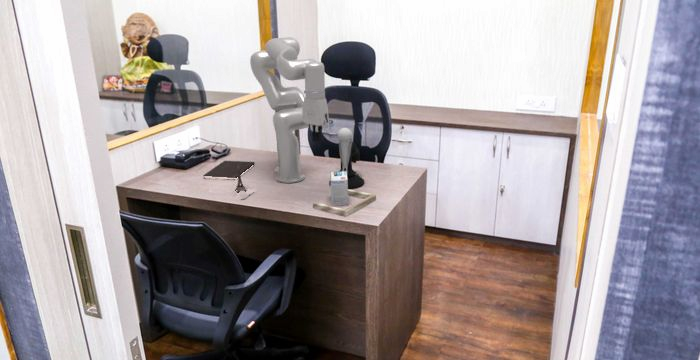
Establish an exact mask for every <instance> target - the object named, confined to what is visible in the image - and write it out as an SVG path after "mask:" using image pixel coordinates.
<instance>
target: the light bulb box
mask: <svg viewBox="0 0 700 360" xmlns="http://www.w3.org/2000/svg"><path fill="white" fill-rule="evenodd" d="M329 176H330V177H329V179H330V180H329V181H330V184H331V186H330V199H331V200H330V203H331V204H330V205H331V206H333V207H337V206H340V207H342V206H349V195H348V179H347V172H346V171H342V172H339V171H330V173H329Z"/></svg>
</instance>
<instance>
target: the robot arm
mask: <svg viewBox="0 0 700 360" xmlns="http://www.w3.org/2000/svg"><path fill="white" fill-rule="evenodd" d="M300 49H301V47H300V43H299V42H298V39H296V38H294V37H286V36H285V37H274V38H271V39H270V40H268V41H267V42H266V43H265V46H264V50H263V49H262V50H259V51H255V52H253V53H252V55H251V56H250V60H249V61H250V68H251V71H252V74H253V76H254V77H255V79H256V80H257V81H258V83H259V84H260V86H261V89H262V91H263V93H264V95H265V97H266V101H267V102H268V104H269V106H270V108H271V110H273V111H276V112H275V113H274V114H273V116H272V123H273V127H274V132H275V136H276V137H275V138H276V146H277V158H278V166H276V167H275V169H274V170H273V172H274V173H277V176H276V177H275V178H276V179H275V180H276V181H277V182H279V183H281V182H282V184H283V183H284V184H295V183H299V182H301V181H303V180H304V179H305V174H303V173H302V172H301V171H302V170H301V158H300V157H301V156H300V142H299V138H298V137H297V135H296V134H295V133H294V131H297V130H299V131H300V130H303V129H308V128H310V131H311V132H312V133H311V134H312V142H314V143H317V142H321V140H322V139H321V138H322V131H323V129H327V128H328V127H329V126H328V123H329V122H330V121H329V119H330V118H329V107H328V101H327V98H326V86H325V85H326V83H325V82H326V80H325V79H326V77H325V76H326V75H325V65H324V63H323V62H321V61H317V60H315V58H303V59H302V58H301V59H298V56H299V55H300V52H301V50H300ZM271 70H277V72H278V74H279V75H280V76H281V77H283V79H285V80H288V81H300V80H304V88H305V89H304V90H303V91H302V90H301V89H300V88H299V87H297V86H287V87H284V86H283V85H282V82H281V80H280V79H279V77H278V76H277V75H276V74H275V73H273V72H271Z"/></svg>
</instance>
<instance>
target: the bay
mask: <svg viewBox="0 0 700 360" xmlns="http://www.w3.org/2000/svg"><path fill="white" fill-rule="evenodd" d="M348 196H351V197H355V198H359V199H362V200H360V201H357V203H355V204H353V205H351V206H349V207H347V208H345V209H344V208H340V207H337V206H332V205H328V204H325V203H321V202H317V201H314V202H313V203H312V208H313V209H315V210H318V211H323V212H327V213H330V214H334V215H339V216H340V217H341V216H343V217H345V218H347V217H348V216H350V215H352V214H354V213H355V212H357V211H359V210H361V209H362V208H364V207H366V206H369V204H371V203H373V202H375V201H376V200H377V194H373V193H369V192H363V191H358V190H356V189H348Z"/></svg>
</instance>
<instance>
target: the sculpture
mask: <svg viewBox="0 0 700 360" xmlns="http://www.w3.org/2000/svg"><path fill="white" fill-rule="evenodd" d="M337 137H338V138H337V139H338V141H339V142H338V148H339V149H338V151H339V153H338V154H339V157H340V158H339V159H340V170H338V172H342V171H346V172H347V179H348V189H350V190H357V189H359V188H362V187H363V186H364V185H365V180H364V178H362V177H361V175H358V174H356V173H357V172H356V170H354V169H353V164H356V163H357V162H360V158H361V157H360V154H361V153H360V149H359V148H357V144H356V143H355V142H354V141H353V132H352V130H351V129H350V128H348V127H342V128H341V129H339V130H338V131H337ZM329 187H331V184H330V180H329Z"/></svg>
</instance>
